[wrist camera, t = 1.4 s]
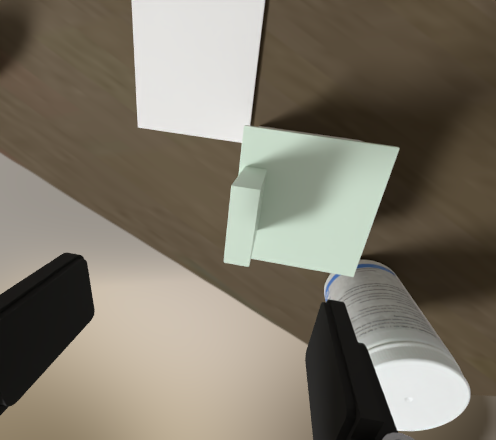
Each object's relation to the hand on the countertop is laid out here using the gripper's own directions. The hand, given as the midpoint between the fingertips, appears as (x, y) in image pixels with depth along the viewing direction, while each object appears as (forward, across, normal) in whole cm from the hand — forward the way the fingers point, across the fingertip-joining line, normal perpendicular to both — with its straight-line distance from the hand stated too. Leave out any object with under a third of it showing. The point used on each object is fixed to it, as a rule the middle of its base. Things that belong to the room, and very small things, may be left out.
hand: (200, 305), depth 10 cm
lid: (+14, -5, 0) cm, 15 cm away
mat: (+22, +8, -10) cm, 26 cm away
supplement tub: (+22, -16, +13) cm, 30 cm away
